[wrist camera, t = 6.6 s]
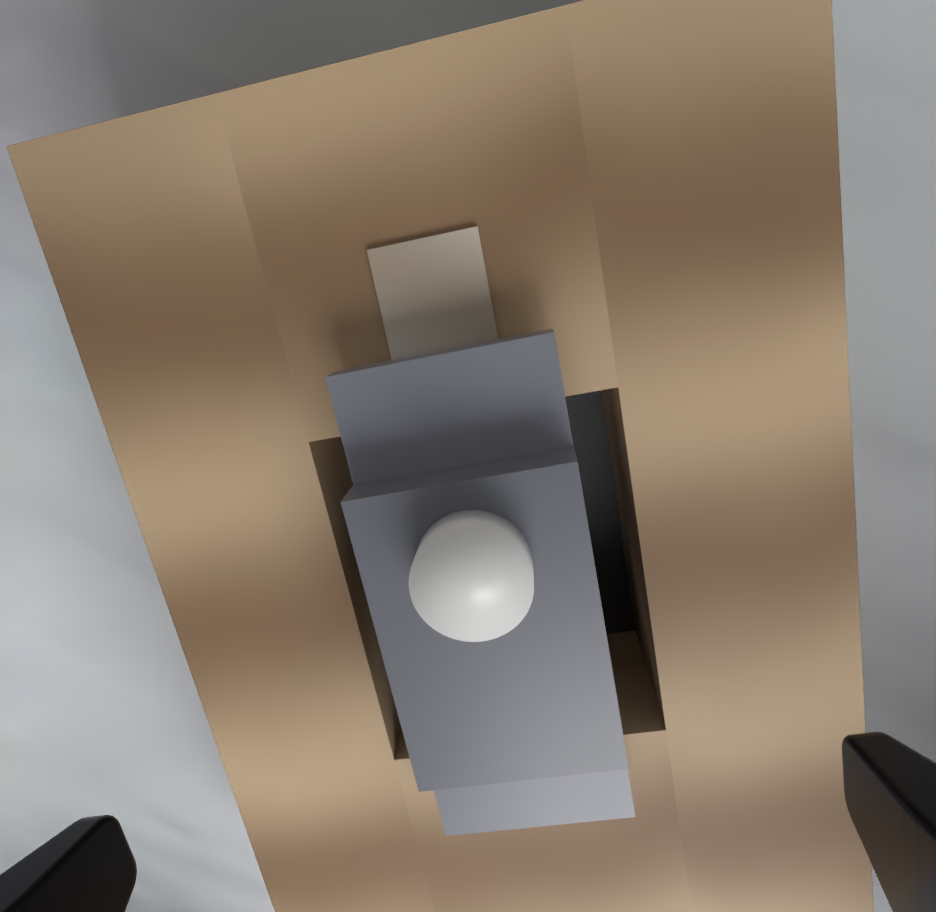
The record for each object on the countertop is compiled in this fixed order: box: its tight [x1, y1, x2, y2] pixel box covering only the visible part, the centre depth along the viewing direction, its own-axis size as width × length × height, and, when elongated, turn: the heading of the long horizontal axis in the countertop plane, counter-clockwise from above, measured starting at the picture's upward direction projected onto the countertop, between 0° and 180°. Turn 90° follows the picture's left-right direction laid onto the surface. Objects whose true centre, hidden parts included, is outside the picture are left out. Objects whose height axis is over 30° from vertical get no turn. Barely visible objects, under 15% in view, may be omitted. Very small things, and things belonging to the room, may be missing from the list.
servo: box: [325, 329, 636, 836], centre depth 14 cm, size 10×4×7 cm, turn 12°
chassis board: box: [6, 0, 874, 912], centre depth 15 cm, size 20×14×4 cm
